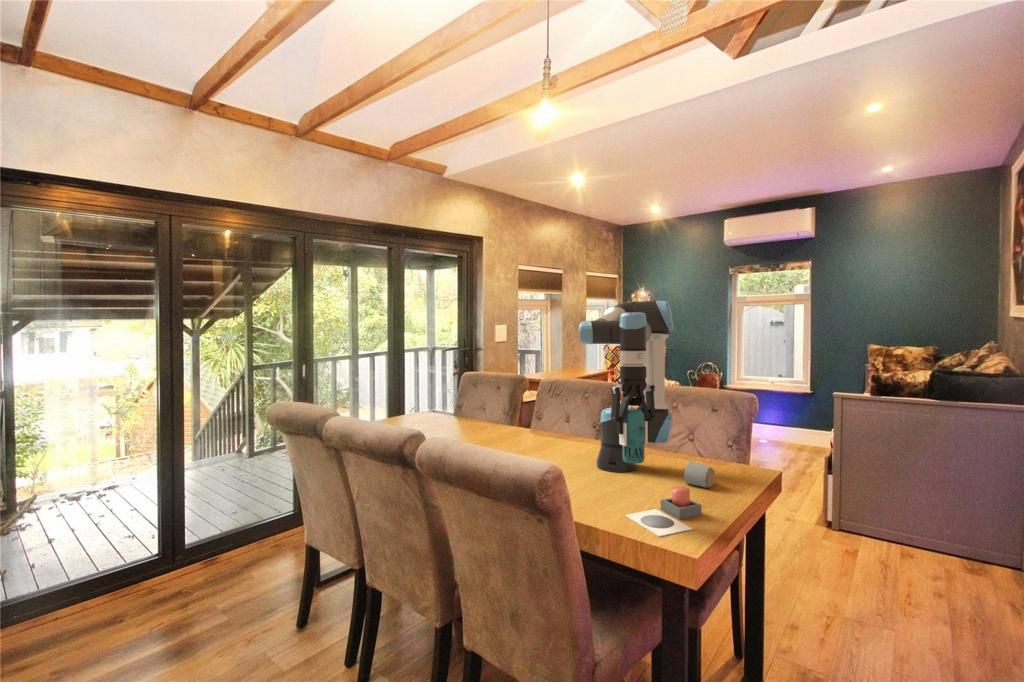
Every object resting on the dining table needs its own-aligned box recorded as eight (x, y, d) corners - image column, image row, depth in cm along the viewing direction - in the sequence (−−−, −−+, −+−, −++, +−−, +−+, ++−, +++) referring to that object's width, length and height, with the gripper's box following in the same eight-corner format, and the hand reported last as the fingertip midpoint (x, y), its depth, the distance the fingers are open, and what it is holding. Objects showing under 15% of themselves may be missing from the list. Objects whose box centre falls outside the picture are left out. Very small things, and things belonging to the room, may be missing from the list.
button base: (660, 509, 142) (660, 499, 142) (681, 505, 145) (681, 495, 145) (679, 519, 135) (679, 509, 135) (701, 515, 138) (701, 504, 138)
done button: (668, 504, 141) (668, 487, 141) (681, 501, 143) (681, 485, 143) (680, 510, 137) (680, 492, 137) (693, 507, 139) (693, 490, 138)
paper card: (624, 516, 138) (624, 514, 138) (655, 510, 142) (655, 508, 142) (659, 537, 124) (659, 535, 124) (692, 529, 128) (692, 528, 128)
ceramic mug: (707, 491, 157) (708, 468, 157) (683, 485, 163) (683, 463, 163) (719, 483, 165) (719, 461, 165) (695, 478, 171) (696, 457, 171)
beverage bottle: (620, 467, 138) (620, 398, 137) (624, 461, 144) (623, 395, 144) (643, 469, 135) (643, 399, 135) (646, 463, 141) (646, 396, 141)
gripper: (611, 367, 132) (611, 449, 133) (668, 365, 139) (669, 443, 139) (597, 365, 139) (597, 444, 140) (652, 363, 146) (652, 438, 146)
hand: (633, 443), depth 139 cm, fingers closed on beverage bottle, 6 cm apart
